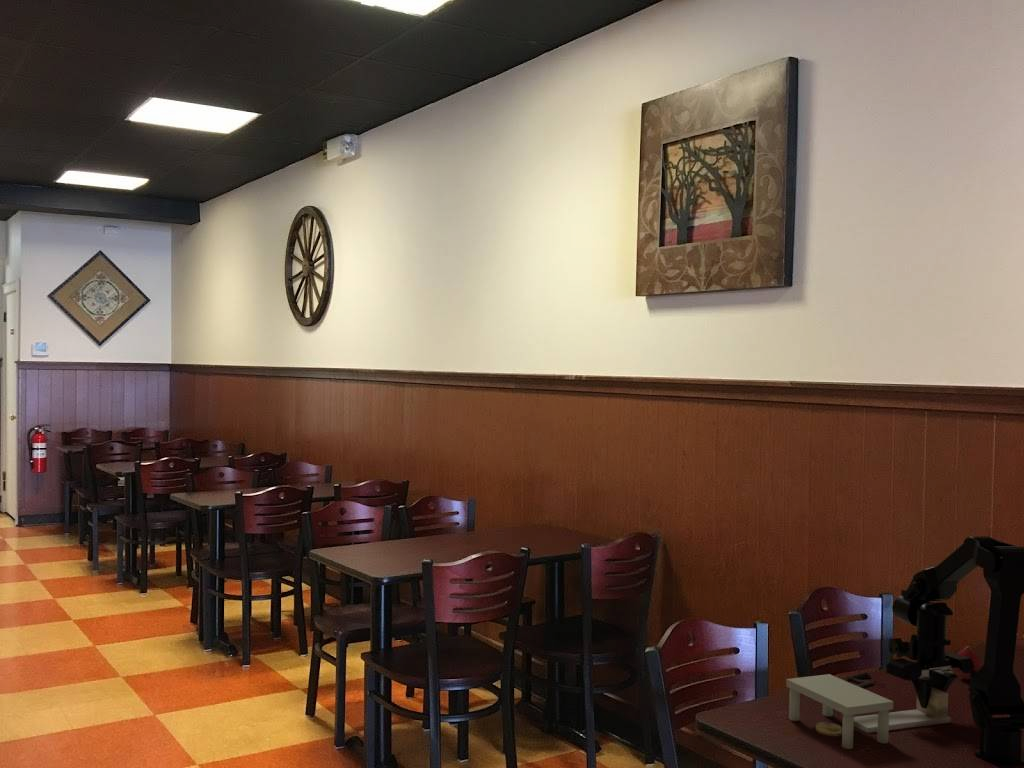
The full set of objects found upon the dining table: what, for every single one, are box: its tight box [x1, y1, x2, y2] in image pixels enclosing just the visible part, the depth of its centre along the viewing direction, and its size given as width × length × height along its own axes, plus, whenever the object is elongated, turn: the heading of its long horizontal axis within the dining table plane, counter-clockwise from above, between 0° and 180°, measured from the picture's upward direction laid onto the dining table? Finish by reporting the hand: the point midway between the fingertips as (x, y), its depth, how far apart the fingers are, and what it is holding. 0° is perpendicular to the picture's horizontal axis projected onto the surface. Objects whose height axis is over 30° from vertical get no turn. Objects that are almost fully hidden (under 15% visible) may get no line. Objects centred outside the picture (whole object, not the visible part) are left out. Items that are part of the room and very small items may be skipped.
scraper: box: [854, 687, 951, 734], centre depth 199 cm, size 6×21×6 cm, turn 110°
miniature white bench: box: [785, 673, 894, 750], centre depth 193 cm, size 18×11×8 cm, turn 22°
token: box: [815, 721, 842, 737], centre depth 193 cm, size 5×5×1 cm
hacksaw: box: [842, 671, 883, 688], centre depth 220 cm, size 24×10×2 cm, turn 123°
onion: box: [954, 645, 982, 681], centre depth 229 cm, size 6×6×8 cm
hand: (929, 707), depth 202 cm, fingers closed on scraper, 3 cm apart
